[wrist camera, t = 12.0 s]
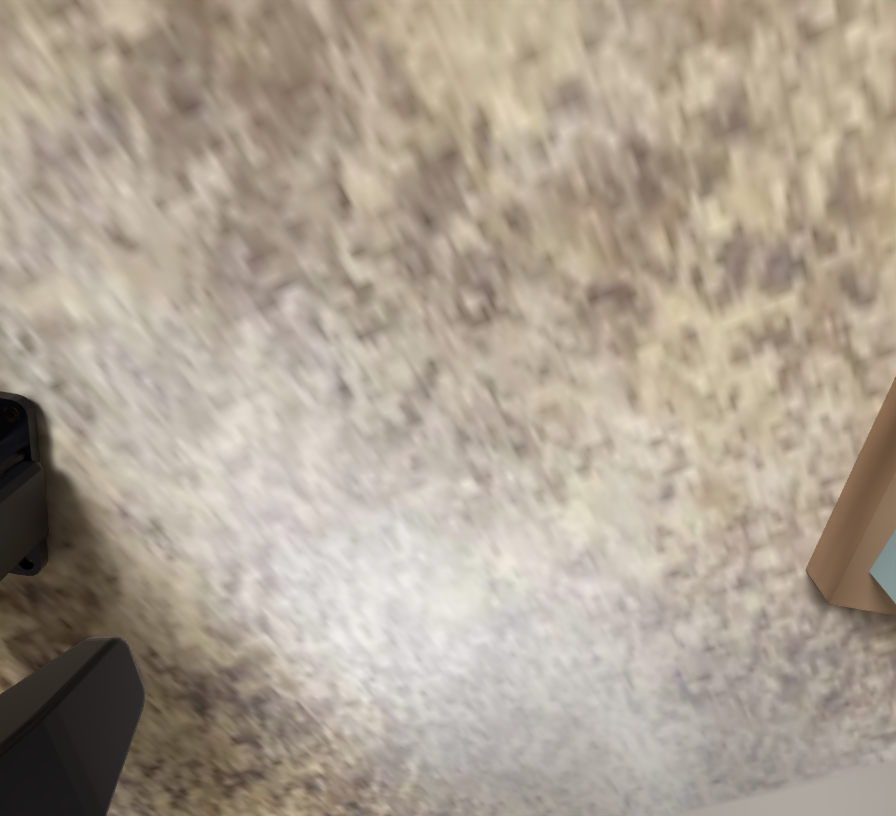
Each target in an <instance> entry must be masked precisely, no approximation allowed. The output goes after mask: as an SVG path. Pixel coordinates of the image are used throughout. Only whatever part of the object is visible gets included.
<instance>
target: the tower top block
mask: <svg viewBox="0 0 896 816" xmlns="http://www.w3.org/2000/svg"><path fill="white" fill-rule="evenodd" d="M869 572H870V573H871V574H872V576H873V577H874V578H875V579H876V580H877V582H878V583H879V584H880V585H881V587H882V588H883V589H884V590H885V591H886V593H887V594H888V595H889V596H890V597H891V599H892V600H893V601H894V602H895V604H896V529H895V531H894V532H893V534H892V536H891V537H890V539H889V540H888V542H887V544H886V545H885V547H884V548H883V550H882V551H881V553H880V555H879V556H878V558H877V559H876V561H875V563H874V564H873V566H872V567H871V569H870V571H869Z"/></svg>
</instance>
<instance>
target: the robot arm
mask: <svg viewBox="0 0 896 816" xmlns="http://www.w3.org/2000/svg"><path fill="white" fill-rule="evenodd" d="M11 407H12V408H15V409H16V410H17V411H18V412H19V415H20V417H19V416H17V415H15V414H14V413H13V412H12V410H11ZM48 531H49V529H48V517H47V505H46V492H45V480H44V470H43V468H42V466H41V464H40V458H39V446H38V435H37V423H36V412H35V408H34V406H33V404H32V403H31V401H30V400H28V399H27V398H26V397H24V396H21V395H18V394H13V393H7V392H1V391H0V581H1V580H2V579H3V578H4V577H5V576H6V575H7V574H8V573H13V574H20V575H26V576H33V575H36V574H38V573H39V572H40V571H41V570H42V568H43V567H44V566H45V565H46V564H47V561H48V553H47V541H46V535H47V534H48ZM27 558H29V559H30V560H32V561H33V562H31V561H29V560H28V559H27ZM144 701H145V690H144V685H143V682H142V679H141V676H140V674H139V671H138V668H137V666H136V663H135V660H134V658H133V655H132V652H131V649H130V647H129V645H128V643H127V641H126V640H125V639H123V638H122V637H119V636H102V637H90V638H87V639H84V640H83V641H81V642H79V643H78V644H76V645H75V646H73V647H72V648H70V649H69V650H67V651H66V652H64V653H63V654H61V655H60V656H58V657H57V658H55V659H54V660H52V661H51V662H49V663H47V664H46V665H44V666H43V667H41V668H40V669H38V670H37V671H35V672H34V673H32V674H31V675H29V676H28V677H26V678H25V679H23V680H22V681H20V682H19V683H17V684H16V685H14V686H12V687H11V688H9V689H8V690H6V691H5V692H3V693H2V694H0V816H106V815H107V812H108V809H109V806H110V803H111V801H112V798H113V795H114V792H115V789H116V786H117V783H118V780H119V777H120V774H121V771H122V768H123V766H124V763H125V760H126V757H127V754H128V751H129V748H130V745H131V742H132V739H133V736H134V734H135V731H136V728H137V725H138V722H139V719H140V716H141V713H142V710H143V706H144Z"/></svg>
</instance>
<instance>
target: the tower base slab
mask: <svg viewBox="0 0 896 816" xmlns="http://www.w3.org/2000/svg"><path fill="white" fill-rule="evenodd" d="M895 529H896V377H895V379H894V381H893V384H892V386H891V388H890V390H889V392H888V394H887V396H886V399H885V401H884V403H883V405H882V407H881V409H880V411H879V414H878V416H877V418H876V420H875V422H874V424H873V426H872V429H871V431H870V433H869V435H868V437H867V439H866V441H865V443H864V446H863V448H862V450H861V452H860V454H859V456H858V458H857V461H856V463H855V465H854V467H853V469H852V471H851V473H850V476H849V478H848V480H847V482H846V484H845V486H844V488H843V491H842V493H841V495H840V497H839V499H838V501H837V503H836V506H835V508H834V510H833V512H832V514H831V516H830V518H829V521H828V523H827V525H826V527H825V529H824V531H823V533H822V536H821V538H820V540H819V542H818V544H817V546H816V548H815V551H814V553H813V555H812V557H811V559H810V561H809V563H808V566H807V568H806V571H807V573H808V574H809V575H810V577H811V578H812V580H813V581H814V583H815V584H816V586H817V587H818V589H819V590H820V591H821V593H822V594H823V596H824V597H825V599H826V600H827V602H828V603H829V604H831V605H837V606H843V607H849V608H855V609H861V610H866V611H872V612H878V613H884V614H890V615H896V604H895V602H894V601H893V600H892V599H891V597H890V596H889V595H888V594H887V593H886V591H885V590H884V589H883V588H882V587H881V585H880V584H879V583H878V582H877V580H876V579H875V578H874V577H873V576H872V574H871V573H870V572H869V571H870V569H871V567H872V566H873V564H874V563H875V561H876V559H877V558H878V556H879V555H880V553H881V551H882V550H883V548H884V547H885V545H886V544H887V542H888V540H889V539H890V537H891V536H892V534H893V532H894V531H895Z"/></svg>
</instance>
